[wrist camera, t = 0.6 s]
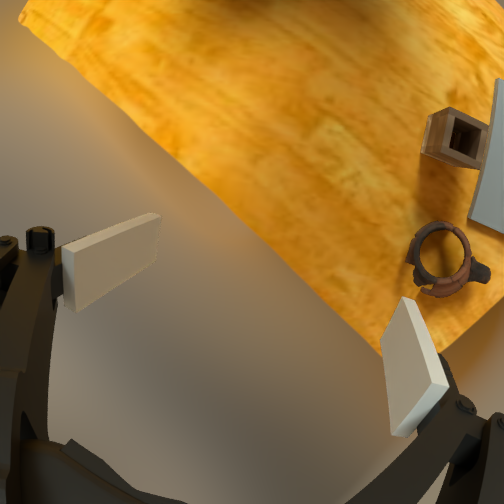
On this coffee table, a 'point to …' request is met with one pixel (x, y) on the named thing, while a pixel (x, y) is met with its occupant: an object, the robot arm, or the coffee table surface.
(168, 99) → the coffee table surface
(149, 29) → the coffee table surface
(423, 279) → the pottery mug
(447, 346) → the coffee table surface
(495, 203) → the pin board
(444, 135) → the sleeve loose
